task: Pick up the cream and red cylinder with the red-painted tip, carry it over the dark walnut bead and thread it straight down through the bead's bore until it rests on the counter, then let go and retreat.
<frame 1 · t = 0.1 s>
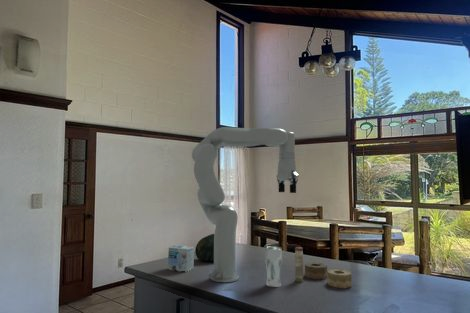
hand: (287, 192, 165), 37 cm above the kitchen island, tool pointing down, fingers open, 9 cm apart
walnut bead: (316, 276, 153), on the kitchen island
oak bead: (339, 284, 141), on the kitchen island
cream and red cylinder: (299, 280, 146), on the kitchen island
light bulb box: (180, 270, 163), on the kitchen island
squash: (209, 260, 182), on the kitchen island
beer glass: (273, 285, 140), on the kitchen island
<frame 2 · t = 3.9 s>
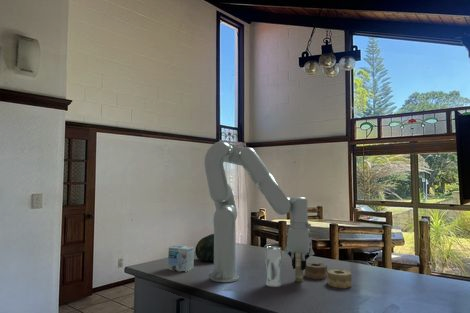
hand: (299, 268, 146), 5 cm above the kitchen island, tool pointing down, fingers closed on cream and red cylinder, 3 cm apart
cream and red cylinder: (299, 280, 146), on the kitchen island, touching gripper
everything else where it was.
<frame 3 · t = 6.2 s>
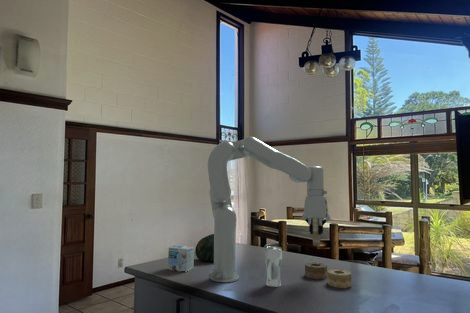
hand: (316, 233, 155), 19 cm above the kitchen island, tool pointing down, fingers closed on cream and red cylinder, 3 cm apart
cream and red cylinder: (316, 245, 154), point 14 cm above the kitchen island, touching gripper
everything else where it was.
when the fingers open (7 cm above the kitchen island, at t = 8.6 s): cream and red cylinder drops 1 cm, resting in walnut bead.
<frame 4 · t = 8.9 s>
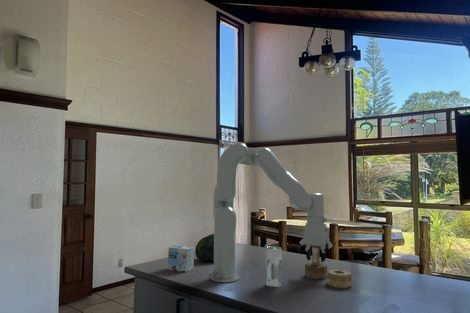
hand: (315, 260, 154), 7 cm above the kitchen island, tool pointing down, fingers open, 5 cm apart
cream and red cylinder: (315, 276, 153), resting in walnut bead
everything else where it was.
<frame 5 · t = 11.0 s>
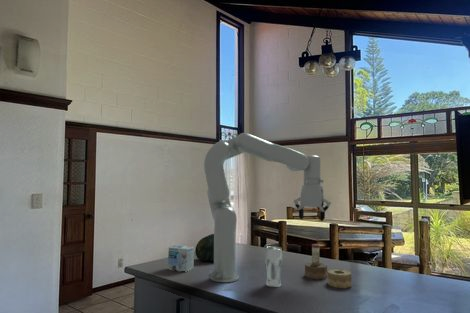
hand: (311, 219, 156), 25 cm above the kitchen island, tool pointing down, fingers open, 9 cm apart
nothing on the kitchen island moved.
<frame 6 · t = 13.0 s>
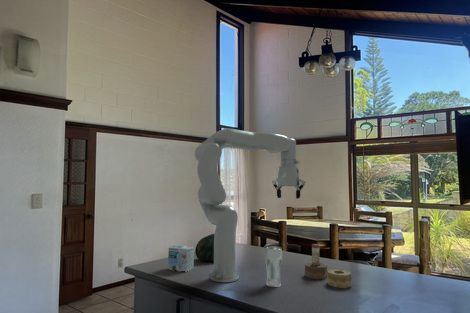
hand: (288, 198, 168), 34 cm above the kitchen island, tool pointing down, fingers open, 9 cm apart
nothing on the kitchen island moved.
at the end: cream and red cylinder 0.1 cm off-centre on the walnut bead, point 0.0 cm above the walnut bead's base; cream and red cylinder tilted 0°; the gripper is holding nothing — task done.
